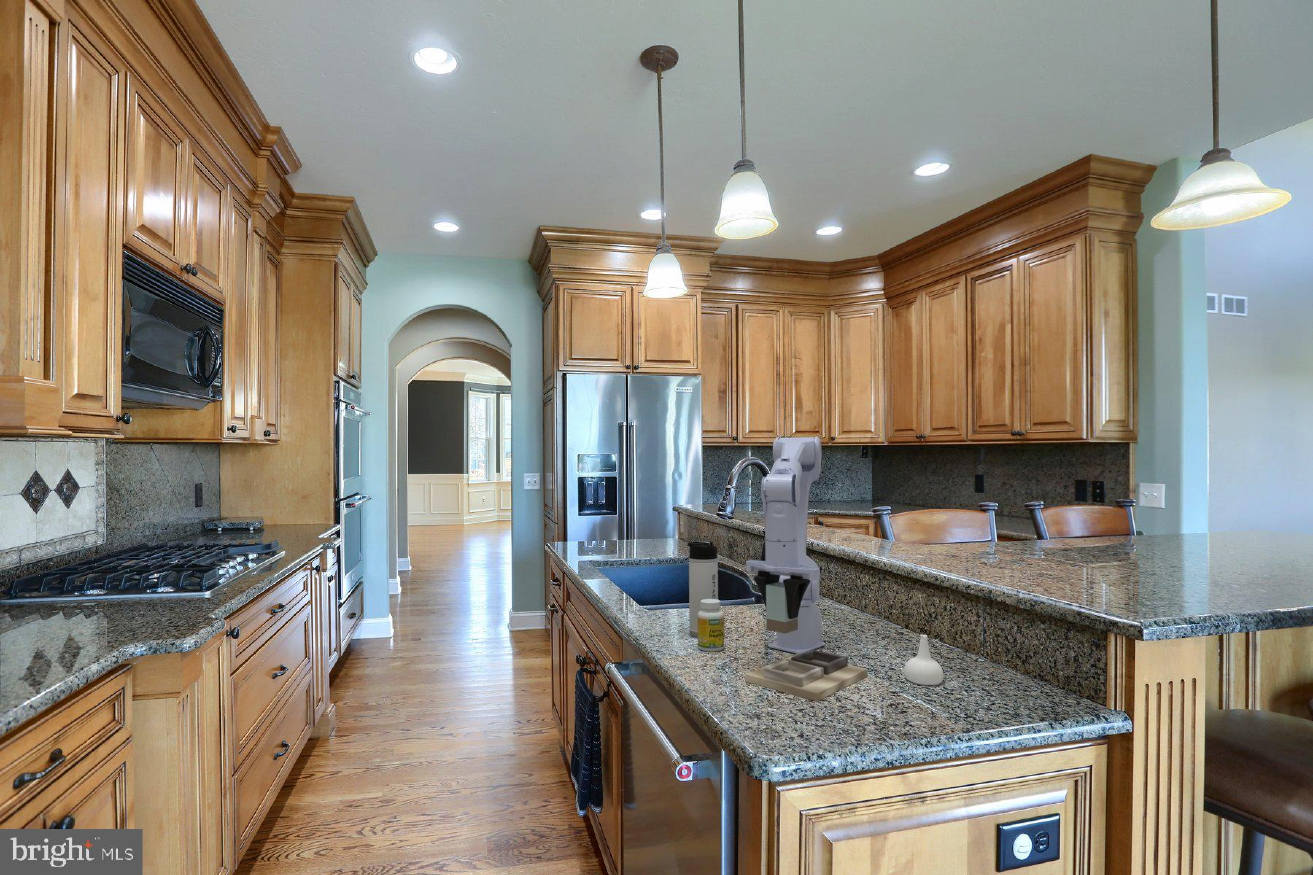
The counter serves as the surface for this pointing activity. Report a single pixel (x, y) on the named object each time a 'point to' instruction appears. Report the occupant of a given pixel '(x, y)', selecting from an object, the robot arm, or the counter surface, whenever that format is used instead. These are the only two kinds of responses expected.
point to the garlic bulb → (923, 666)
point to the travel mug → (701, 580)
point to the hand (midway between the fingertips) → (782, 615)
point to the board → (808, 674)
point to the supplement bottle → (710, 626)
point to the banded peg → (778, 610)
